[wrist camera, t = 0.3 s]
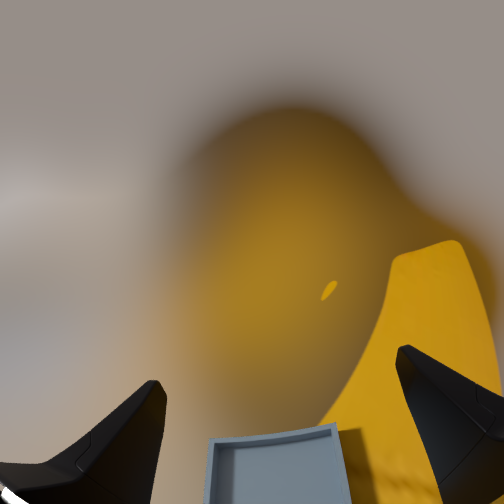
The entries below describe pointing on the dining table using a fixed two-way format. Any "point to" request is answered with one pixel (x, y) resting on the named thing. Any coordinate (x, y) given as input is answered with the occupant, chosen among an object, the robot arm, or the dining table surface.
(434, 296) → the dining table surface
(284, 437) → the slate tray
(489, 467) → the robot arm
